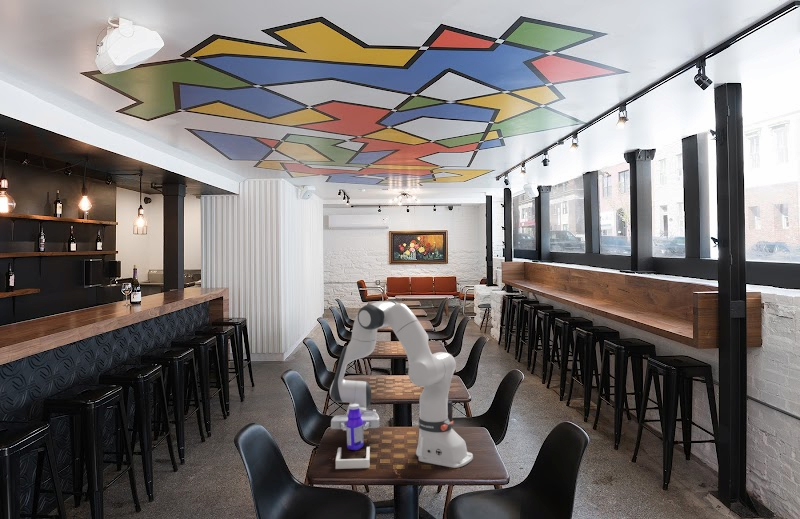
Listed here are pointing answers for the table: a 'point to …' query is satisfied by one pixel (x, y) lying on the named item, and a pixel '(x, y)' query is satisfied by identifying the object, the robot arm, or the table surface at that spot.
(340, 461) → the bottle holder
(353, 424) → the bottle
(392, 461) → the table surface
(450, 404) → the camera lens
